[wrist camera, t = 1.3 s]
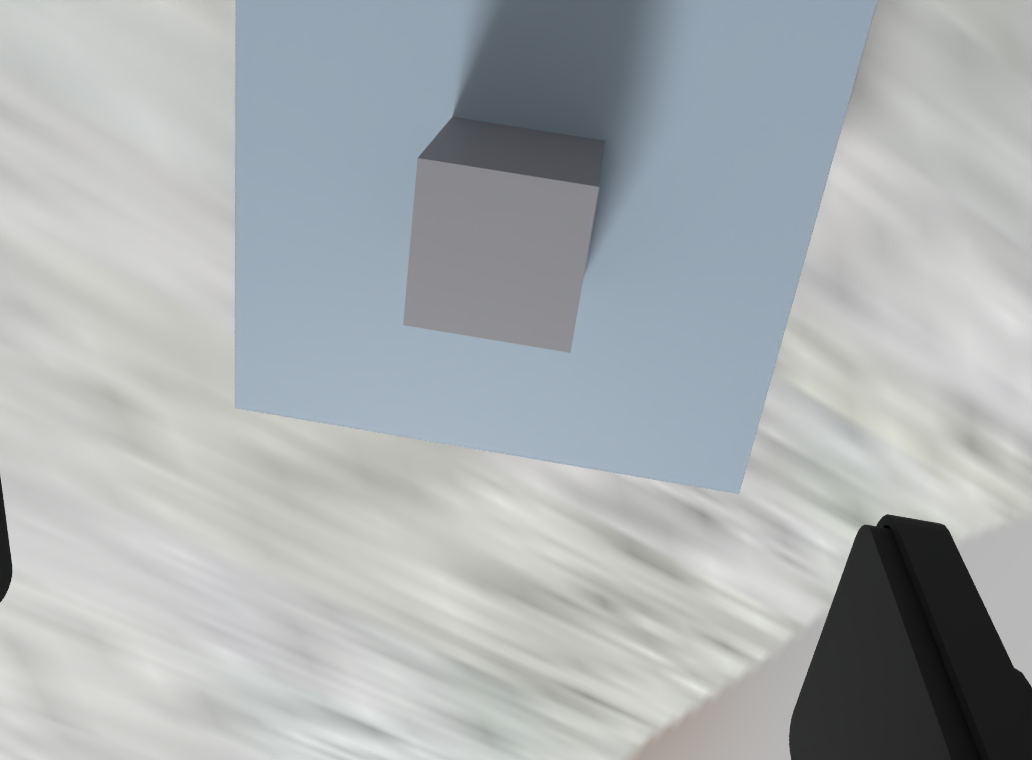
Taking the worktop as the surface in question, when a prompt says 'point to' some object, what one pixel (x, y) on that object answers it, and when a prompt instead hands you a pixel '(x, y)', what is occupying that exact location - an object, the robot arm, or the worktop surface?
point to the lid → (533, 218)
